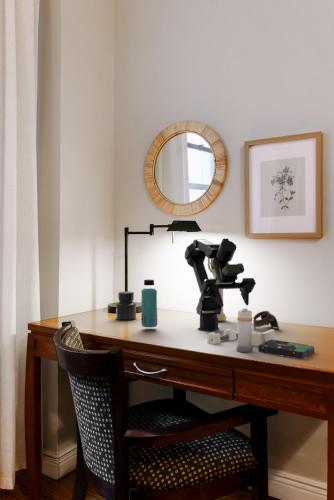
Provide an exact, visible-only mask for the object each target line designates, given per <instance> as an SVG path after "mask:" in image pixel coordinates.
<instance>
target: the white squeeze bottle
mask: <svg viewBox="0 0 334 500" xmlns="http://www.w3.org/2000/svg"><path fill="white" fill-rule="evenodd" d="M252 314H253V311H252V310H248V308H242V310H241V309H240V310H238V311H237V333H238V337H237V344H236V352H239V353H243V354H250V353H253V352H254V345H252V327H253V326H252V325H253V323H252V321H253V315H252Z"/></svg>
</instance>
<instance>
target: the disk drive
mask: <svg viewBox="0 0 334 500" xmlns="http://www.w3.org/2000/svg"><path fill="white" fill-rule="evenodd" d="M257 347H258V353H262V354H263V353H264V354H268V353H269V354H270V355H274V354H275V355H276V356H280V355H283V356H282V357H286V356H289V357H288V358H292V357H295V358H294V359H298V358H302V359H301V360H305V359H306V358H308V357H309V356H311V355H313V354H314V353H315V347H314V345H309V344H302V343H297V342H291V341H284V340H276V339H274V340H269V341H267V342H265V343H264V344H260V345H259V346H257ZM312 353H313V354H312ZM310 354H311V355H310ZM307 356H308V357H307ZM305 357H306V358H305ZM304 358H305V359H304Z"/></svg>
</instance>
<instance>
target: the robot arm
mask: <svg viewBox="0 0 334 500" xmlns="http://www.w3.org/2000/svg"><path fill="white" fill-rule="evenodd" d="M236 250H237V244H236V243H234V242H233V241H232V240H229V238H222V241H221V242H220V243H213V242H211V241H208V240H207V239H205V238H195V239H194V240H193V241H192V243H191V244H189V245H188V246H187V247H186V249H185V252H184V258H185V260H186V262H187V265H188V266H190V267H191V268H192V269H193V271H194V275H195V280H196V282H197V283H196V284H197V285H198V289H199V292H200V296H199V299H198V303H197V306H196V307H195V308H196V310H195V311H196V314H198V316H199V327H198V328H197V330H200V331H206V332H214V331H216V330H219V329H220V327H219V321H218V318H217V314H220V313H221V308H222V307H223V308H224V300H223V301H222V298H221V295H220V293H219V289H223V290H236V289H237V290H238V289H239V292H240V295H241V298H242V300H243V302H244V304H245V305H246V307H247V306H249V304H250V302H249V300H250V297H249V295H250V293H252V291H253V289H254V287H255V286H256V280H255V279H254V277H243V278H242V280H241V282H236V281H237V280H238V275H240V274H243V273H244V272H245V266H244V263H236V264H231V263H229V262H231V261H232V259H233V257H234V255H235V253H236ZM206 258H207V260H208V259H210V260H211V259H213V261H212V264H213V265H212V269H214V270H215V273H216V279H210V278H209V276H208V273H207V270H206V266H205V264H204V263H205V259H206ZM212 269H211V270H212ZM216 280H218V283H216V282H217V281H216Z"/></svg>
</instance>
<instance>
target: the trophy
mask: <svg viewBox="0 0 334 500" xmlns="http://www.w3.org/2000/svg"><path fill="white" fill-rule="evenodd" d="M212 261H213V259H208V258H207V267H208V271H209V272H210V273H211V274H212V276H213V277H209V279H216V273H215V270H214V269H212V265H213V264H212ZM216 281H217V282H216V283H218V280H216ZM219 293H220V295H221V298H222V301H223V302H224V289H219ZM217 318H218V322H223V321H225V320H227V316H226V313H224V306H223V307H222V308H221V313H220V314H217Z"/></svg>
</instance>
